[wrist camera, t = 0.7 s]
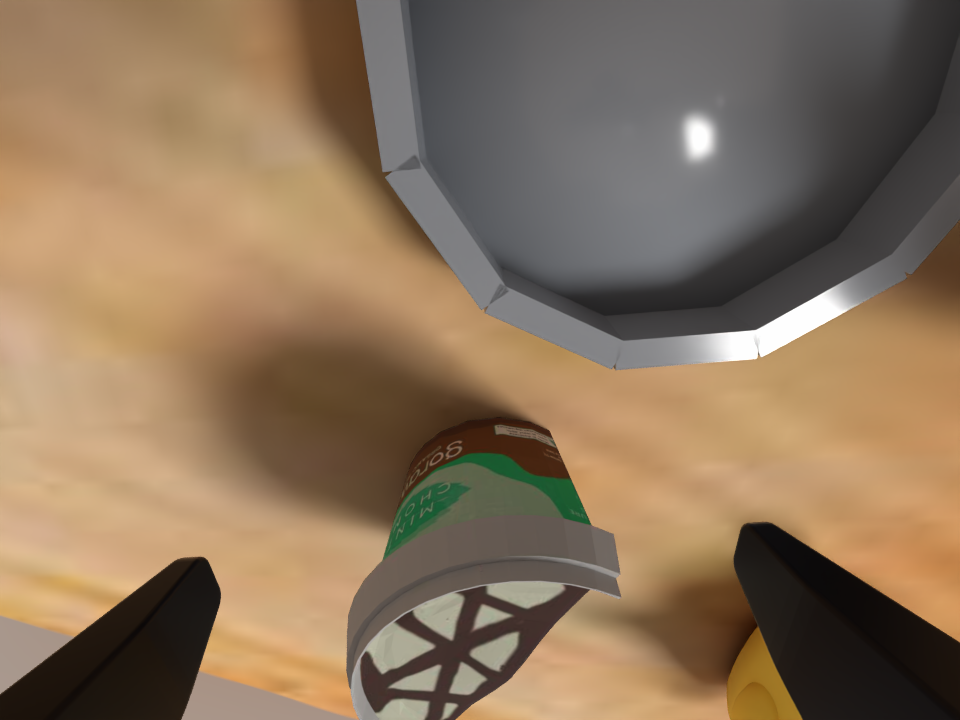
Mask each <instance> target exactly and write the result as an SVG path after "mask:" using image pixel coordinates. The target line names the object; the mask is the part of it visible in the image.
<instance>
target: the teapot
mask: <svg viewBox="0 0 960 720" xmlns="http://www.w3.org/2000/svg"><path fill="white" fill-rule="evenodd" d="M727 706H728V713H729V717H730V719H731V720H803V719H802V718H801V716H800V714H799V712H798V710H797V708H796V706H795V704H794V702H793V700H792V699H791V697H790V695H789V693H788V691H787V689H786V687H785V685H784V683H783V681H782V679H781V677H780V675H779V673H778V671H777V669H776V667H775V665H774V663H773V661H772V658H771V656H770V654H769V652H768V649H767V647H766V644H765V642H764V639H763V637H762V635H761V632H760V630H759V627H757V628H756V629H755V630H754V632H753V633H752V634H751V636H750V637H749V639H748V640H747V642H746V643H745V645H744V647H743V648H742V650H741V652H740V653H739V655H738V657H737V659H736V661H735V663H734V665H733V668H732V670H731V672H730V675H729V678H728V681H727Z"/></svg>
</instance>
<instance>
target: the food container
mask: <svg viewBox="0 0 960 720" xmlns="http://www.w3.org/2000/svg"><path fill="white" fill-rule="evenodd" d="M619 575H620V568H619V563H618V557H617V551H616V545H615V539H614V534H612V533H609V532H607V531H604V530H602V529H599V528H597V527H594V526H592V525H591V523H590V521H589V518H588V516H587V514H586V512H585V509H584V507H583V505H582V503H581V500H580V498H579V496H578V494H577V491H576V489H575V487H574V485H573V483H572V480H571V478H570V476H569V474H568V471H567V469H566V467H565V465H564V462H563V460H562V458H561V456H560V453H559V451H558V449H557V447H556V444H555V442H554V440H553V438H552V435H551V433H550V431H549V430H546V429H544V428H542V427H539V426H537V425H535V424H532V423H530V422H525V421H519V420H512V419H506V418H500V417H498V418H489V419H480V420H471V421H466V422H464V423H461V424H459V425H456V426H454V427H452V428H449V429H447V430H444V431H442V432H440V433H439V434H438V435H436V436H435V437H434V438H432V439H431V440H430V441H429V442H427V443H426V444H425V445H424V446H423V447H422V448H421V450H420V451H419V452H418V453H417V454H416V456H415V458H414V460H413V461H412V463H411V465H410V468H409V471H408V474H407V478H406V481H405V484H404V488H403V491H402V495H401V498H400V502H399V505H398V509H397V512H396V515H395V519H394V522H393V526H392V529H391V533H390V536H389V540H388V543H387V546H386V550H385V553H384V557H383V560H382V562H381V563H379V564H378V565H377V566H376V568H375V569H374V570H373V571H372V572H371V573H370V574H369V575H368V577H367V578H366V579H365V580H364V581H363V583H362V585H361V586H360V588H359V590H358V592H357V593H356V595H355V597H354V599H353V602H352V605H351V608H350V612H349V615H348V628H347V669H346V671H347V676H348V682H349V687H350V689H351V696H352V701H353V707H354V709H355V711H356V714H357V716H358V718H359V720H455V719H456V718H458V717H459V716H460V715H461V714H462V713H463V712H464V711H465V710H466V709H468V708H469V707H470V706H471V705H472V704H474V703H475V702H477V701H478V700H480V699H482V698H483V697H485V696H486V695H488V694H490V693H491V692H493V691H494V690H496V689H497V688H499V687H500V686H501V685H503V684H504V683H505V682H507V681H508V680H509V679H510V678H511V677H512V676H513V675H514V674H515V672H516V671H517V670H518V669H519V668H520V667H521V666H522V664H523V663H524V662H525V661H526V659H527V658H528V657H529V656H530V654H531V653H532V652H533V650H534V649H535V648H536V646H537V645H538V644H539V642H540V641H541V640H542V639H543V637H544V636H545V635H546V634H547V633H548V632H549V630H550V629H551V628H552V627H553V626H554V624H555V623H556V622H557V621H558V620H559V619H560V618H561V617H562V616H563V615H564V614H565V613H566V612H567V611H568V610H569V609H570V608H571V607H573V606H574V605H575V604H576V603H577V602H578V601H579V600H580V599H581V598H582V597H583V596H584V595H585V594H586V593H587V592H588V591H589V590H590V589H591V590H595V591H598V592H601V593H604V594H607V595H610V596H612V597H615V598H618V599H620V598H621V594H620V591H619V588H618V584H617V581H616V578H617V577H618V576H619Z"/></svg>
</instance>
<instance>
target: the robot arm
mask: <svg viewBox="0 0 960 720" xmlns="http://www.w3.org/2000/svg"><path fill="white" fill-rule="evenodd" d="M734 568H735V571H736V574H737V577H738V579H739V582H740V584H741V586H742V589H743V591H744V594H745V596H746V598H747V601H748V603H749V606H750V608H751V610H752V613H753V615H754V618H755V620H756V623H757V625H758V627H759V630H760V632H761V635H762V637H763V639H764V642H765V644H766V647H767V649H768V652H769V654H770V656H771V658H772V661H773V663H774V665H775V667H776V669H777V671H778V673H779V675H780V677H781V679H782V681H783V683H784V685H785V687H786V689H787V691H788V693H789V695H790V697H791V699H792V700H793V702H794V704H795V706H796V708H797V710H798V712H799V714H800V716H801V718H802V719H803V720H960V642H958V641H957V640H955V639H954V638H952V637H950V636H949V635H947V634H946V633H944V632H943V631H941V630H939V629H938V628H936V627H935V626H933V625H932V624H930V623H928V622H927V621H925V620H924V619H922V618H921V617H919V616H917V615H916V614H914V613H913V612H911V611H910V610H908V609H906V608H905V607H903V606H902V605H900V604H899V603H897V602H895V601H894V600H892V599H891V598H889V597H888V596H886V595H884V594H883V593H881V592H880V591H878V590H877V589H875V588H873V587H872V586H870V585H869V584H867V583H866V582H864V581H862V580H861V579H859V578H858V577H856V576H854V575H853V574H851V573H850V572H848V571H847V570H845V569H843V568H842V567H840V566H839V565H837V564H836V563H834V562H832V561H831V560H829V559H828V558H826V557H825V556H823V555H821V554H820V553H818V552H817V551H815V550H814V549H812V548H810V547H809V546H807V545H806V544H804V543H803V542H801V541H799V540H798V539H796V538H795V537H793V536H792V535H790V534H788V533H787V532H785V531H784V530H782V529H781V528H779V527H777V526H776V525H774V524H772V523H769V522H754V523H746V524H744V525H743V526H742V527H741V530H740V534H739V538H738V542H737V546H736V550H735V554H734ZM220 600H221V592H220V587H219V585H218V583H217V580H216V578H215V576H214V573H213V571H212V569H211V566H210V564H209V562H208V560H207V559H205V558H204V557H187V558H180V559H177V560H175V561H174V562H172V563H171V564H170V565H168V566H167V567H166V568H165V569H163V570H162V571H161V572H159V573H158V574H157V575H155V576H154V577H153V578H151V579H150V580H149V581H148V582H146V583H145V584H144V585H142V586H141V587H140V588H138V589H137V590H136V591H134V592H133V593H132V594H131V595H129V596H128V597H127V598H125V599H124V600H123V601H121V602H120V603H119V604H117V605H116V606H115V607H114V608H112V609H111V610H110V611H108V612H107V613H106V614H104V615H103V616H102V617H100V618H99V619H98V620H97V621H95V622H94V623H93V624H91V625H90V626H89V627H87V628H86V629H85V630H84V631H82V632H81V633H80V634H78V635H77V636H76V637H74V638H73V639H72V640H70V641H69V642H68V643H67V644H65V645H64V646H63V647H61V648H60V649H59V650H57V651H56V652H55V653H54V654H52V655H51V656H50V657H48V658H47V659H46V660H44V661H43V662H42V663H40V664H39V665H38V666H37V667H35V668H34V669H33V670H31V671H30V672H29V673H27V674H26V675H25V676H23V677H22V678H21V679H20V680H18V681H17V682H16V683H14V684H13V685H12V686H10V687H9V688H8V689H7V690H5V691H4V692H2V693H1V694H0V720H181V719H182V716H183V714H184V711H185V709H186V706H187V704H188V701H189V698H190V695H191V692H192V689H193V686H194V683H195V680H196V677H197V674H198V671H199V668H200V665H201V662H202V658H203V655H204V652H205V649H206V646H207V643H208V640H209V637H210V633H211V630H212V627H213V624H214V621H215V618H216V615H217V612H218V608H219V605H220Z"/></svg>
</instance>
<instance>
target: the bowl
mask: <svg viewBox="0 0 960 720" xmlns="http://www.w3.org/2000/svg"><path fill="white" fill-rule="evenodd" d="M356 4H357V10H358V17H359V23H360V30H361V36H362V42H363V49H364V55H365V62H366V68H367V75H368V81H369V87H370V94H371V100H372V107H373V113H374V119H375V126H376V132H377V139H378V145H379V152H380V158H381V164H382V171H383V172H389V171H393V172H391V173H390V174H389V175H387V176H386V177H385V178H386V180H387V181H388V182H389V184H390V185H391V187H392V188H393V189H394V191H395V192H396V193H397V195H398V196H399V198H400V199H401V200H402V202H403V203H404V204H405V206H406V207H407V209H408V210H409V211H410V213H411V214H412V215H413V217H414V218H415V220H416V221H417V222H418V224H419V225H420V226H421V228H422V229H423V231H424V232H425V233H426V235H427V236H428V237H429V239H430V240H431V242H432V243H433V244H434V246H435V247H436V248H437V250H438V251H439V253H440V254H441V255H442V257H443V258H444V259H445V261H446V262H447V264H448V265H449V266H450V268H451V269H452V271H453V272H454V273H455V275H456V276H457V277H458V279H459V280H460V282H461V283H462V284H463V286H464V287H465V288H466V290H467V291H468V293H469V294H470V295H471V297H472V298H473V299H474V301H475V302H476V304H477V305H478V306H479V308H480V309H481V310H482V309H484V310H485V313H486V314H488V315H490V316H493V317H495V318H497V319H499V320H502V321H504V322H506V323H508V324H511V325H513V326H515V327H517V328H520V329H522V330H524V331H526V332H529V333H531V334H533V335H535V336H538V337H540V338H542V339H544V340H547V341H549V342H551V343H553V344H556V345H558V346H560V347H562V348H565V349H567V350H569V351H571V352H574V353H576V354H578V355H580V356H583V357H585V358H587V359H589V360H592V361H594V362H596V363H598V364H601V365H603V366H605V367H607V368H610V369H612V368H613V367H614V368H615V370H623V369H635V368H648V367H660V366H673V365H685V364H697V363H710V362H722V361H735V360H747V359H757V356H758V355H759V356H760V357H763V356H765V355H767V354H768V353H770V352H772V351H774V350H776V349H778V348H779V347H781V346H783V345H785V344H787V343H789V342H791V341H792V340H794V339H796V338H798V337H800V336H802V335H803V334H805V333H807V332H809V331H811V330H813V329H814V328H816V327H818V326H820V325H822V324H824V323H826V322H827V321H829V320H831V319H833V318H835V317H837V316H838V315H840V314H842V313H844V312H846V311H848V310H850V309H851V308H853V307H855V306H857V305H859V304H861V303H862V302H864V301H866V300H868V299H870V298H872V297H873V296H875V295H877V294H879V293H881V292H883V291H885V290H886V289H888V288H890V287H892V286H894V285H896V284H897V283H899V282H901V281H903V280H905V279H907V277H906V274H905V273H907V274H910V275H912V273H913V272H914V271H915V270H916V269H917V268H918V267H919V265H920V264H921V263H922V262H923V261H924V260H925V259H926V257H927V256H928V255H929V254H930V253H931V252H932V251H933V250H934V248H935V247H936V246H937V245H938V244H939V243H940V242H941V240H942V239H943V238H944V237H945V236H946V235H947V234H948V232H949V231H950V230H951V229H952V228H953V227H954V226H955V224H956V223H957V222H958V221H959V220H960V0H356Z"/></svg>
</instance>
